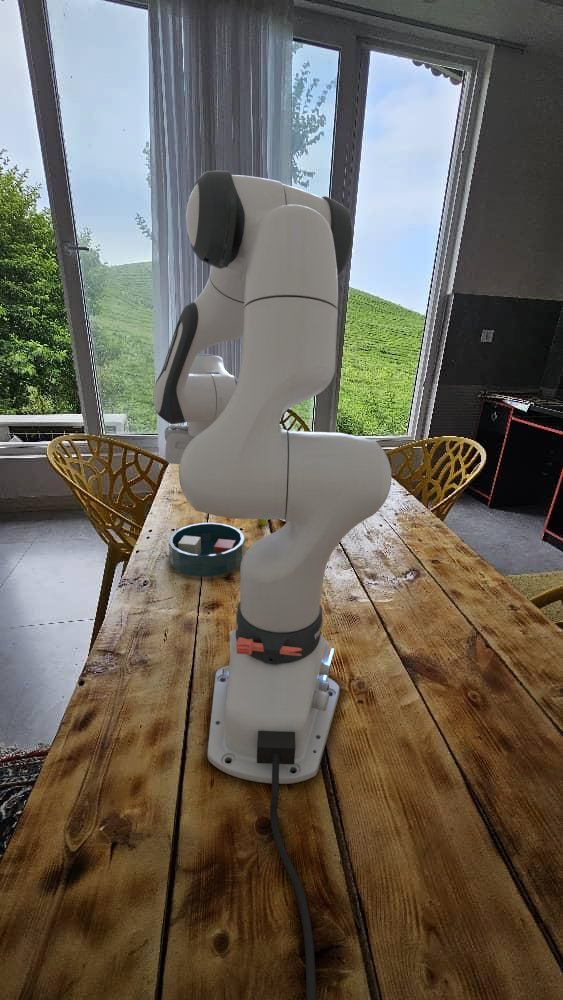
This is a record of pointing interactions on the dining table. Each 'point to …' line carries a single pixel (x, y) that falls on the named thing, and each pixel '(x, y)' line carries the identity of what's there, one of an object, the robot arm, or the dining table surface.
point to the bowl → (207, 550)
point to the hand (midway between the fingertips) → (208, 482)
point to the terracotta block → (224, 545)
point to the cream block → (190, 544)
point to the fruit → (261, 521)
